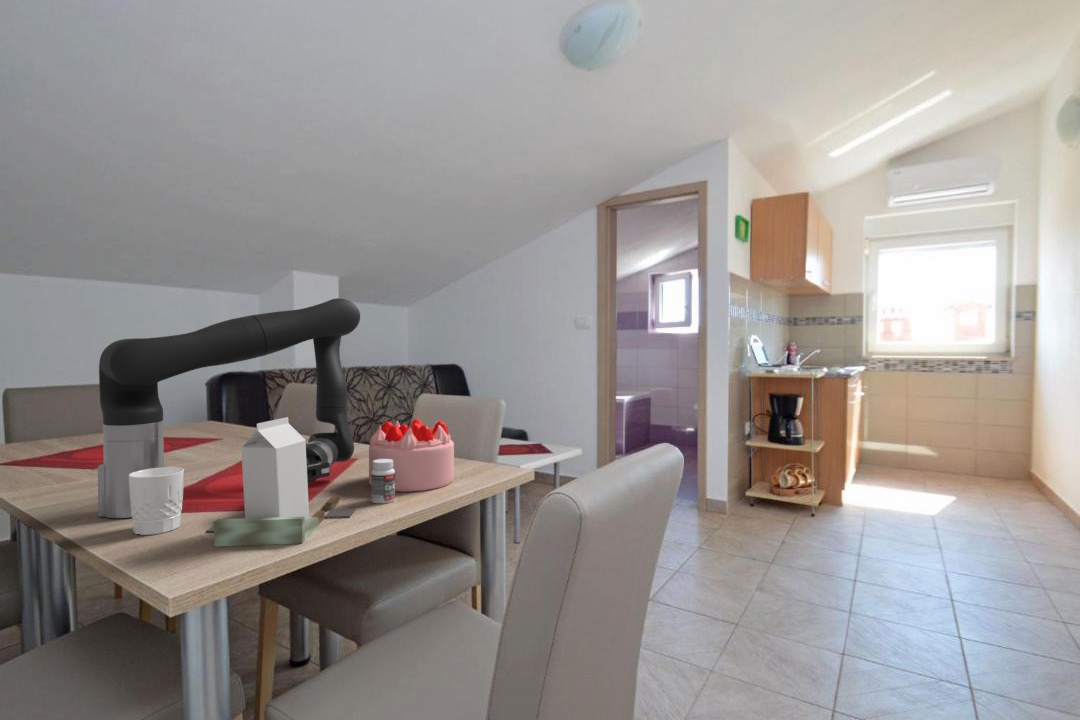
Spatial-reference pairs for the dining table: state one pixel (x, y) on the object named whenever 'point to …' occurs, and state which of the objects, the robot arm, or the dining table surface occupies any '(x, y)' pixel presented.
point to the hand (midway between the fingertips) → (281, 481)
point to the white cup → (156, 499)
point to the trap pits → (331, 514)
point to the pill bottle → (383, 481)
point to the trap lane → (268, 529)
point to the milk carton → (275, 472)
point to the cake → (415, 454)
